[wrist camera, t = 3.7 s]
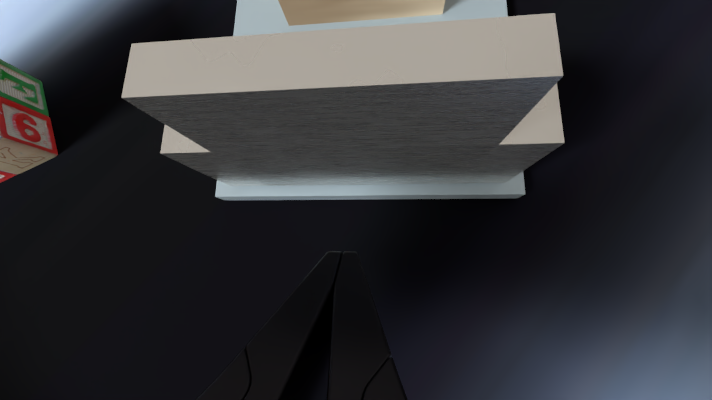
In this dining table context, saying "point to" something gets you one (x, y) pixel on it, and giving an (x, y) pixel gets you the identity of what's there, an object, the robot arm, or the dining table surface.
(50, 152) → the stack of blocks
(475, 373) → the dining table surface
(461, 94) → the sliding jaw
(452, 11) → the pale blue base plate
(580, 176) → the dining table surface
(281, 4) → the beech block
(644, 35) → the dining table surface
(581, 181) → the dining table surface
